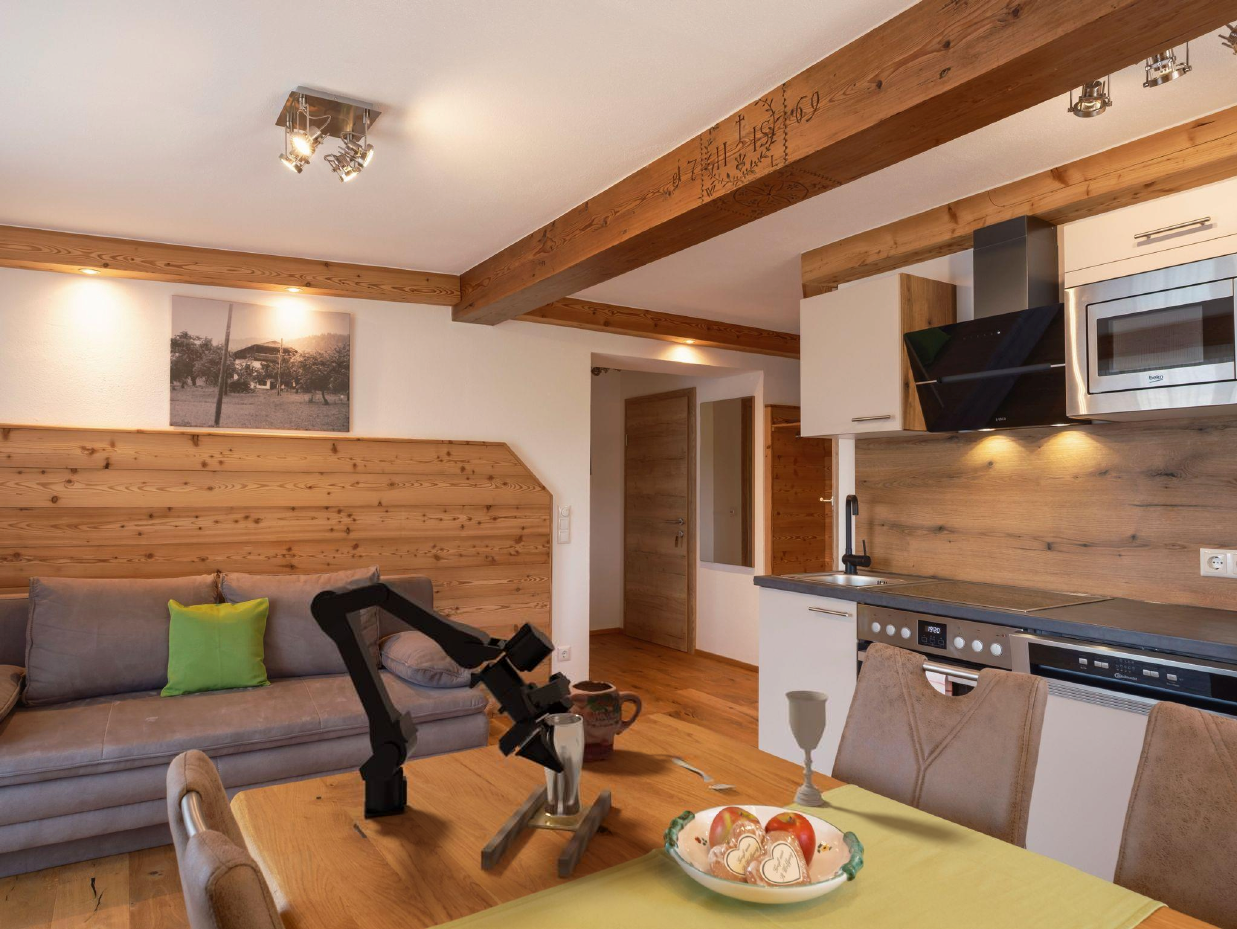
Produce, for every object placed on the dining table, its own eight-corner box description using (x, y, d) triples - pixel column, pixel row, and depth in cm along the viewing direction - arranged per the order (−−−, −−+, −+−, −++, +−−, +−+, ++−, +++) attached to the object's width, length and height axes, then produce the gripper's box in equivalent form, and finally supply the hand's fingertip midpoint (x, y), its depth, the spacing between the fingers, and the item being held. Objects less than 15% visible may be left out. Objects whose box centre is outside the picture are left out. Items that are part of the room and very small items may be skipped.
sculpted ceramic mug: (628, 738, 173) (627, 674, 174) (653, 755, 162) (652, 686, 163) (540, 751, 165) (540, 683, 166) (559, 770, 154) (559, 697, 155)
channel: (568, 877, 111) (568, 859, 111) (481, 868, 114) (481, 851, 114) (611, 805, 136) (611, 790, 137) (538, 799, 139) (538, 785, 139)
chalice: (782, 804, 136) (780, 697, 137) (793, 790, 142) (791, 688, 143) (825, 811, 133) (823, 702, 134) (834, 797, 139) (832, 693, 140)
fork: (672, 754, 163) (672, 746, 164) (738, 795, 141) (738, 785, 142) (659, 757, 162) (658, 748, 162) (723, 798, 140) (723, 788, 140)
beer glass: (586, 802, 135) (586, 713, 135) (580, 820, 128) (581, 725, 128) (546, 800, 136) (546, 712, 136) (538, 818, 129) (538, 724, 129)
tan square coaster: (584, 831, 126) (584, 828, 126) (527, 826, 128) (527, 823, 128) (598, 809, 135) (598, 806, 135) (544, 804, 137) (544, 802, 137)
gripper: (516, 671, 125) (581, 751, 121) (563, 649, 143) (622, 717, 138) (471, 717, 127) (533, 796, 123) (523, 690, 145) (579, 758, 141)
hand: (570, 764), depth 131 cm, fingers closed on beer glass, 6 cm apart
